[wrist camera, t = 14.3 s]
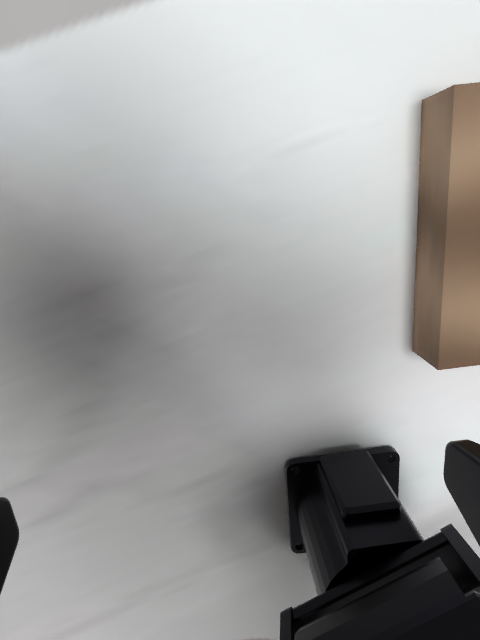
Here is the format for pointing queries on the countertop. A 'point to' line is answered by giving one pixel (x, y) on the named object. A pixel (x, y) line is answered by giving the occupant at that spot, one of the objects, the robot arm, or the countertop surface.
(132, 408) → the countertop surface
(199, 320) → the countertop surface
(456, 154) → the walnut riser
